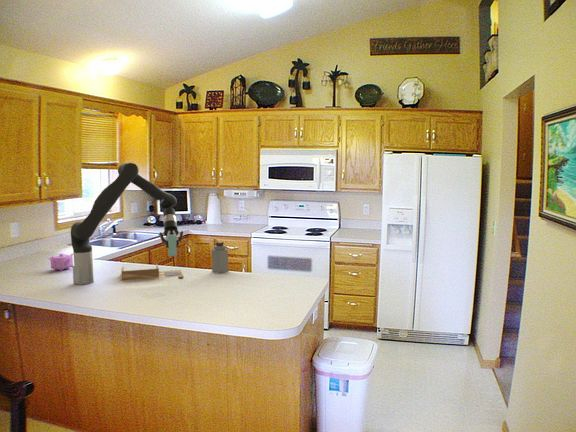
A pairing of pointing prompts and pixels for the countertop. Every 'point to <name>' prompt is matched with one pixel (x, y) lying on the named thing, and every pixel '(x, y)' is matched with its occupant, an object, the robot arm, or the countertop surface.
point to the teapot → (61, 262)
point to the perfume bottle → (219, 258)
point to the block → (172, 245)
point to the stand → (148, 274)
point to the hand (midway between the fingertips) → (172, 247)
